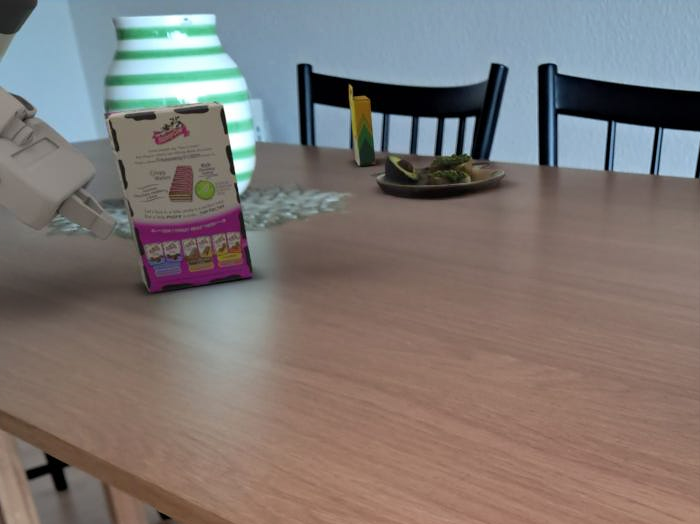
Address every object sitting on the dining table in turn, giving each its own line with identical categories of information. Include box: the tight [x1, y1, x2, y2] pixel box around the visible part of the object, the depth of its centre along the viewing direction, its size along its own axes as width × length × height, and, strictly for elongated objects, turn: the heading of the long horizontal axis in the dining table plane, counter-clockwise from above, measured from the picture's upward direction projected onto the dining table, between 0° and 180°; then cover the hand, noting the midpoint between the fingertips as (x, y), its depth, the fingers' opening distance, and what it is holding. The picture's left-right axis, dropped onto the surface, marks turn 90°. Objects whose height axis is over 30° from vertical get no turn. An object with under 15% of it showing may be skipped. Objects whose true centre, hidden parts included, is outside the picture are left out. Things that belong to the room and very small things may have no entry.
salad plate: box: [370, 152, 506, 200], centre depth 147 cm, size 19×18×5 cm
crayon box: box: [348, 83, 376, 167], centre depth 167 cm, size 7×3×12 cm, turn 11°
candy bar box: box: [103, 100, 254, 293], centre depth 102 cm, size 11×5×16 cm, turn 114°
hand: (111, 232), depth 104 cm, fingers closed
